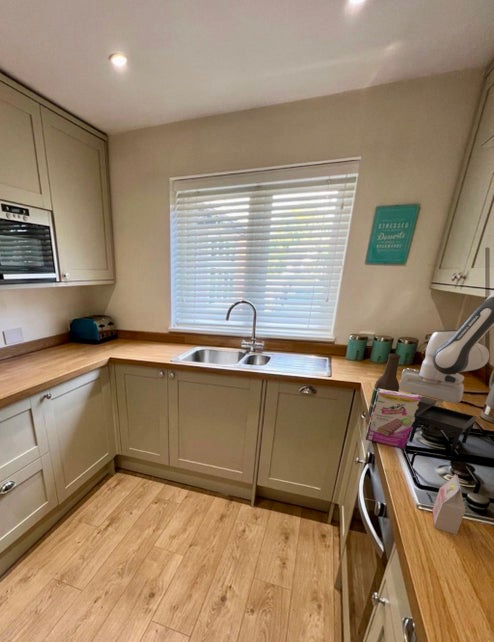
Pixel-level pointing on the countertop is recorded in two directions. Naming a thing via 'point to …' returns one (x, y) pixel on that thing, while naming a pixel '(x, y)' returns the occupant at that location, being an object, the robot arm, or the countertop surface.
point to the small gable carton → (449, 506)
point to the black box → (425, 403)
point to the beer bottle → (387, 379)
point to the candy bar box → (392, 418)
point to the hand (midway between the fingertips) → (423, 407)
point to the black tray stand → (445, 422)
